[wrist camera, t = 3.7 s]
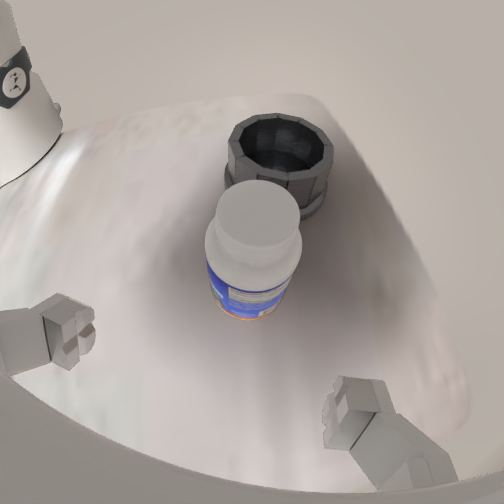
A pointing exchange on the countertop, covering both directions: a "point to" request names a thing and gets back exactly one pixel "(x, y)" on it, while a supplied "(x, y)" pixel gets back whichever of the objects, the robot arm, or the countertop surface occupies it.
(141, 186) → the countertop surface
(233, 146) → the cup holder
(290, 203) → the pill bottle
